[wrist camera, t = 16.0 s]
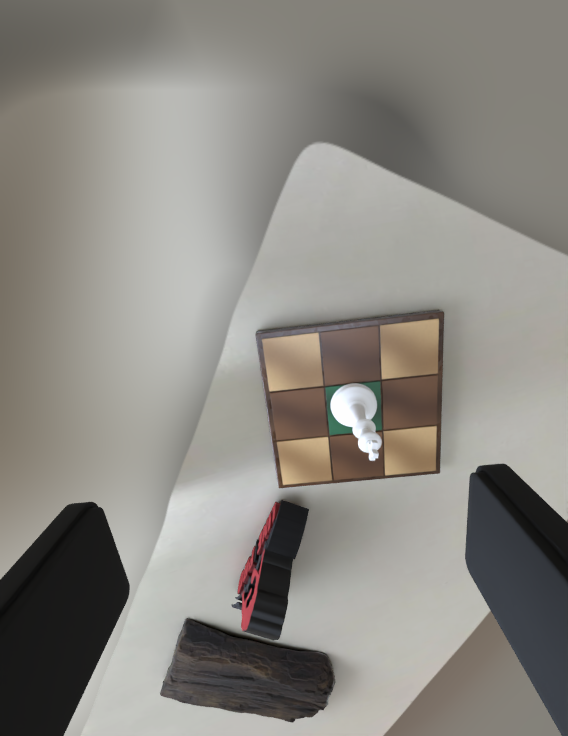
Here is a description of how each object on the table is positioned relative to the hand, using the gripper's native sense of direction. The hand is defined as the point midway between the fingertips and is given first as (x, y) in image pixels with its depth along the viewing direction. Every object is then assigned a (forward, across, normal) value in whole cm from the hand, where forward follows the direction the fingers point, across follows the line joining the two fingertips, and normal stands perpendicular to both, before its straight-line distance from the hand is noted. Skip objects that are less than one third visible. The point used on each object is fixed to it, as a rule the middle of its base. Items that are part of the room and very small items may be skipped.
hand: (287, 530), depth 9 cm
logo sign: (+28, +6, +29) cm, 41 cm away
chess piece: (+27, -6, +9) cm, 29 cm away
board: (+28, -6, +10) cm, 31 cm away
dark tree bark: (+28, +12, +53) cm, 61 cm away
